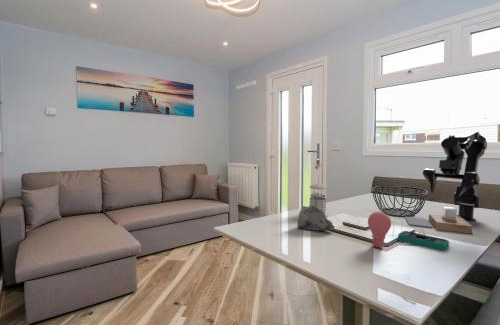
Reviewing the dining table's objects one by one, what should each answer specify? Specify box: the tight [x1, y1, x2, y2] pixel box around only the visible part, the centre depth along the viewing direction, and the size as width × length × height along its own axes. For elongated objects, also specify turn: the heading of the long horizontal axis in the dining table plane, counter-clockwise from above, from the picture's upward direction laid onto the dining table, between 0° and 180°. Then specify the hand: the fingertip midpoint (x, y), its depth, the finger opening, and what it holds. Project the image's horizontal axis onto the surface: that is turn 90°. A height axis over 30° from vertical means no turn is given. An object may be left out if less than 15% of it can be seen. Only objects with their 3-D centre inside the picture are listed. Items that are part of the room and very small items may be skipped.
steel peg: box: [442, 206, 458, 221], centre depth 119 cm, size 4×4×8 cm
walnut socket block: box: [428, 213, 473, 234], centre depth 119 cm, size 16×12×3 cm
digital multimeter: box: [397, 230, 450, 252], centre depth 98 cm, size 7×15×3 cm, turn 44°
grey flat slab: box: [404, 216, 434, 229], centre depth 124 cm, size 14×9×1 cm, turn 157°
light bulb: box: [367, 211, 392, 248], centre depth 93 cm, size 7×7×12 cm
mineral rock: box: [296, 204, 336, 231], centre depth 110 cm, size 13×11×10 cm
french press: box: [309, 163, 328, 218], centre depth 133 cm, size 10×12×25 cm
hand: (444, 194), depth 112 cm, fingers open, 9 cm apart
